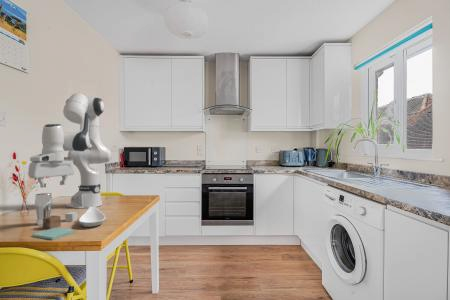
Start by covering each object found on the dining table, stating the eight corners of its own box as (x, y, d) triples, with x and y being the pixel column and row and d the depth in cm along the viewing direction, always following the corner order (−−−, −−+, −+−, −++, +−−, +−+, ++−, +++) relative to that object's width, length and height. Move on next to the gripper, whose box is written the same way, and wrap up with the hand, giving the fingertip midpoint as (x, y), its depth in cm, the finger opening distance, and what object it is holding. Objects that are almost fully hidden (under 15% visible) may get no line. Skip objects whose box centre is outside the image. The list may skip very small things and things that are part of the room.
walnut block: (42, 228, 120) (42, 218, 120) (53, 225, 124) (53, 215, 124) (50, 229, 118) (50, 218, 118) (60, 226, 123) (60, 216, 123)
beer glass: (33, 226, 123) (33, 195, 123) (36, 222, 129) (36, 193, 129) (50, 224, 126) (50, 194, 126) (52, 221, 132) (52, 192, 132)
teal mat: (32, 236, 108) (32, 234, 108) (55, 229, 118) (55, 227, 118) (52, 239, 104) (52, 237, 104) (74, 232, 114) (74, 230, 114)
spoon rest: (106, 227, 122) (106, 212, 122) (78, 231, 116) (78, 215, 116) (103, 216, 143) (103, 203, 143) (79, 218, 137) (79, 205, 137)
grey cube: (65, 221, 131) (65, 213, 131) (70, 219, 135) (70, 212, 135) (72, 221, 131) (72, 214, 131) (77, 219, 135) (77, 212, 135)
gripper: (68, 156, 132) (68, 183, 132) (26, 157, 113) (26, 188, 113) (77, 156, 130) (77, 183, 130) (35, 157, 111) (35, 189, 110)
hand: (53, 186), depth 121 cm, fingers open, 8 cm apart
